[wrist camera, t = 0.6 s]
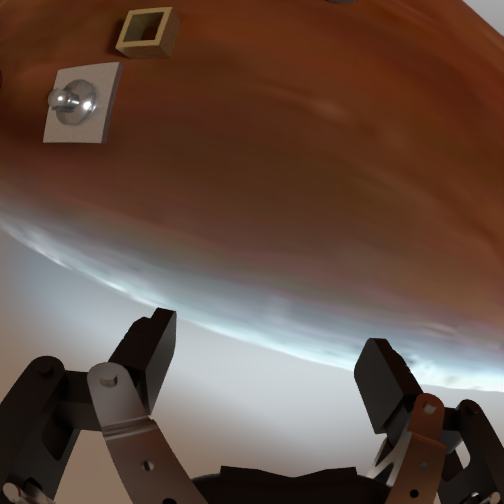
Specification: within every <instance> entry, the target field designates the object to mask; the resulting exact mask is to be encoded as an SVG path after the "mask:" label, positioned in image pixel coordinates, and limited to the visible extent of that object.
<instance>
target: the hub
mask: <svg viewBox="0 0 504 504" xmlns="http://www.w3.org/2000/svg"><path fill="white" fill-rule="evenodd" d="M180 26H181V22H180V20H179V18H178V16H177V15H176V13H175V11H174V9H173V8H172V7H164V8H151V9H141V10H132V11H129V13H128V15H127V18H126V20H125V23H124V26H123V28H122V31H121V34H120V36H119V39H118V42H117V45H116V49H118V50H119V51H120V52H122V53H123V54H124V55H126V56H127V57H128V58H130V59H150V58H171V54H172V51H173V47H174V44H175V41H176V38H177V35H178V32H179V29H180ZM147 28H158V31H157V34H156V37H155V40H145V41H141V40H142V37H143V34H144V31H145V29H147Z"/></svg>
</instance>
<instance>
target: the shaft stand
mask: <svg viewBox="0 0 504 504" xmlns="http://www.w3.org/2000/svg"><path fill="white" fill-rule="evenodd" d="M123 66H124V65H123V64H122V63H120V62H113V63H103V64H94V65H86V66H80V67H73V68H67V69H62V70H58V73H57V77H56V81H55V84H54V88H53V90H52V91H51V93H50V94H49V97H48V104H49V110H48V115H47V121H46V126H45V132H44V139H43V142H77V143H106V142H107V136H108V130H109V125H110V120H111V115H112V110H113V105H114V101H115V96H116V92H117V88H118V84H119V80H120V76H121V73H122V69H123Z"/></svg>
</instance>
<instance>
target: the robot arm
mask: <svg viewBox="0 0 504 504" xmlns="http://www.w3.org/2000/svg"><path fill="white" fill-rule="evenodd" d="M328 1H330V2H335V3H342V4H346V3H352V2H355V1H357V0H328ZM176 317H177V315H176V311H173V310H168V309H163V308H159V307H158V308H157V309H156V310H155V312H154V314H153V315H152V317H151V318H147V317H142V318H140V319H138V320H137V321H135V322H134V323H133V324H132V326H131V327H130V328H129V330H128V332H127V333H126V334H125V336H124V339H122V340H121V342H120V343H119V345H118V346H117V348H116V350H115V351H114V353H113V354H112V356H111V357H110V359H109V360H108V362H104V363H99V364H97V365H95V366H94V367H92V368H91V369H90V370H89V372H78V371H77V372H76V371H68V370H65V368H64V365H63V363H62V362H61V361H60V360H59V359H57V358H55V357H52V356H41V357H38V358H36V359H34V360H33V361H32V362H31V363H30V364H29V365H28V366H27V368H26V369H25V370H24V372H23V373H22V374H21V376H20V377H19V378H18V380H17V381H16V383H15V384H14V385H13V387H12V388H11V389H10V391H9V392H8V394H7V395H6V397H5V398H4V399H3V401H2V402H1V404H0V504H56V503H55V502H54V501H53V500H54V497H55V495H56V492H57V489H58V486H59V483H60V480H61V478H62V475H63V473H64V470H65V467H66V465H67V462H68V459H69V457H70V455H71V452H72V450H73V447H74V445H75V443H76V440H77V438H78V436H79V433H80V431H81V430H91V431H101V432H102V434H103V437H104V439H105V442H106V445H107V448H108V450H109V453H110V455H111V458H112V460H113V463H114V465H115V467H116V469H117V471H118V474H119V476H120V478H121V481H122V483H123V485H124V487H125V489H126V491H127V493H128V495H129V497H130V499H131V501H132V503H133V504H433V503H434V500H435V497H436V493H437V492H438V496H439V499H440V502H441V504H504V448H503V446H502V444H501V442H500V440H499V438H498V437H497V435H496V433H495V431H494V430H493V428H492V426H491V424H490V422H489V421H488V419H487V417H486V416H485V414H484V412H483V410H482V409H481V407H480V406H479V405H478V404H477V403H476V402H474V401H472V400H468V399H466V400H462V401H461V402H460V404H459V405H458V406H457V407H456V408H448V407H444V405H443V403H442V401H441V400H440V399H439V398H438V397H436V396H435V395H432V394H429V393H423V391H422V389H421V387H420V386H419V384H418V382H417V381H416V379H415V377H414V376H413V374H412V373H411V371H410V369H409V367H407V364H406V363H405V361H404V359H403V358H402V357H401V356H400V355H399V354H398V353H397V352H396V351H395V350H393V349H392V347H391V346H390V344H389V342H388V341H387V340H386V339H381V338H369V339H368V340H367V342H366V344H365V346H364V348H363V350H362V352H361V355H360V357H359V359H358V361H357V363H356V365H355V369H354V378H355V381H356V383H357V386H358V388H359V391H360V394H361V397H362V399H363V402H364V405H365V407H366V410H367V413H368V416H369V418H370V421H371V424H372V427H373V429H374V432H375V434H381V433H386V434H387V437H386V438H385V439H384V441H383V443H382V445H381V447H380V449H379V452H378V454H377V456H376V458H375V460H374V462H373V464H372V466H371V468H370V470H369V472H368V473H367V475H366V476H361V475H357V471H356V467H349V468H337V469H325V470H322V471H318V472H315V473H311V474H307V475H304V476H299V477H286V476H282V475H278V474H274V473H269V472H266V471H262V470H258V469H248V468H237V467H229V466H221V469H220V473H218V474H209V475H203V476H199V477H196V478H193V479H190V478H189V476H188V475H187V473H186V472H185V470H184V469H183V467H182V466H181V464H180V462H179V461H178V459H177V458H176V456H175V454H174V453H173V451H172V449H171V448H170V446H169V444H168V443H167V441H166V439H165V438H164V436H163V434H162V432H161V430H160V429H159V427H158V425H157V423H156V422H155V421H154V420H151V419H150V418H149V417H148V415H151V413H152V410H153V408H154V405H155V402H156V399H157V397H158V394H159V391H160V389H161V386H162V383H163V381H164V378H165V376H166V373H167V370H168V367H169V365H170V363H171V360H172V357H173V354H174V350H175V342H176ZM462 441H464V443H465V445H466V447H467V450H468V452H469V454H470V462H469V465H468V466H467V467H466V468H465V469H463V467H462V464H461V462H460V459H459V457H458V455H457V453H456V450H455V448H456V447H457V446H458V445H459V444H460V443H461V442H462Z"/></svg>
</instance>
